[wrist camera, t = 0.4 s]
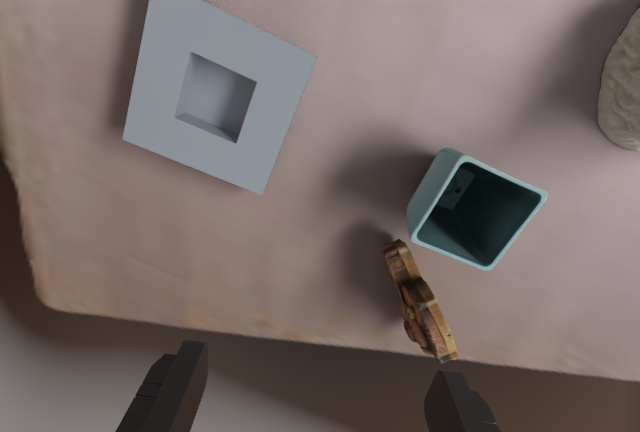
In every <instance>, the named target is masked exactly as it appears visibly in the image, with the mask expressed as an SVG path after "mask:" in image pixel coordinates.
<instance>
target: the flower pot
mask: <svg viewBox="0 0 640 432" xmlns="http://www.w3.org/2000/svg"><path fill="white" fill-rule="evenodd" d="M456 188H460V191H458V192H456ZM547 196H548V193H547V192H546V191H544V190H542V189H539V188H537V187H535V186H532V185H530V184H528V183H525V182H523V181H521V180H519V179H516V178H514V177H512V176H509V175H507V174H505V173H503V172H501V171H499V170H497V169H494V168H492V167H490V166H488V165H486V164H484V163H482V162H480V161H478V160H476V159H474V158H472V157H470V156H467V155H465V154H462V153H460V152H458V151H455V150H453V149H442V150H441V151H439V152H438V154H437V155H436V157H435V158H434V160H433V162H432V164H431V165H430V167H429V169H428V171H427V172H426V174H425V176H424V177H423V179H422V181H421V183H420V184H419V186H418V188H417V189H416V191H415V193H414V194H413V196H412V197H411V199H410V201H409V203H408V206H407V210H406V219H407V225H408V230H409V235H410V240H411V241H412V242H413V243H415V244H417V245H420V246H423V247H426V248H428V249H431V250H433V251H436V252H438V253H441V254H443V255H446V256H448V257H451V258H453V259H456V260H458V261H461V262H463V263H466V264H468V265H471V266H473V267H475V268H478V269H480V270H483V271H490V270H491V269H492V268H493V267H494V266H495V265H496V264H497V262H498V261H499V260H500V258H501V257H502V256H503V254H504V253H505V251H506V250H507V249H508V248H509V246H510V245H511V243H512V242H513V241H514V240H515V238H516V237H517V236H518V234H519V233H520V232H521V230H522V229H523V228H524V227H525V225H526V224H527V223H528V222H529V221H530V220H531V218H532V217H533V216H534V214H535V213H536V212H537V211H538V210H539V208H540V207H541V206H542V204H543V203H544V202H545V200H546V198H547Z"/></svg>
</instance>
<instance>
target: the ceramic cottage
mask: <svg viewBox="0 0 640 432" xmlns="http://www.w3.org/2000/svg"><path fill="white" fill-rule="evenodd" d="M603 71H604V72H603V73H602V77H601V80H602V82H601V89H600V91H599V96H598V107H597V108H598V109H599V110H598V113H599V114H598V115H597V116H598V122H599V126H600V128H601V130H602V131H603V133H604V134H605V135H606V136H607V137H608V139H610V140H611V141H612V142H613V143H614V144H616V145H617V146H619V147H622V148H624V149H627V150H632V151H640V7H639V8H638V9H637V10H636V12H635V13H634V14H633V16H632V17H631V19H630V20H629V22H628V25H627V26H626V27H625V29H624V30H623V31H622V34H621V35H620V36H619V37H618V38H617V42H615V44H614V45H613V47H612V49H611V52H610V53H609V54H608V57H607V58H606V61H605V64H604V69H603Z"/></svg>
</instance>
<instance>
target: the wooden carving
mask: <svg viewBox="0 0 640 432" xmlns="http://www.w3.org/2000/svg"><path fill="white" fill-rule="evenodd" d="M383 249H384V251H383V252H382V254H383V260H384V263H385V265H386V267H387V268H388V271H389V273H390V276H391V278H392V280H393V282H394V284H395V287H396V289H397V291H398V294H399V296H400V298H401V300H402V314H403V318H404V328H405V330H406V332H407V334H408V336H409V338H410V339H411V341H413V342H417V343H418V344H419V345H420V346H421V347H420V348H421V349H422V350H423V352H424V353H426V354H429V355H434V357H435V358H436V359H437V361H438V362H439V363H440V364H443V363H445V362H447V361H449V360H450V359H451V360H455V359H457V358H458V353H457V351H456V346H455V343H454V339H453V336H452V333H451V331H450V329H449V327H448V324H447V322H446V320H445V318H444V316H443V314H442V312H441V310H440V308H439V306H438V304H437V301H436V299H435V297H434V295H433V293H432V291H431V289H430V288H429V286H428V285H427V283H426V282H425V281H424V280H423V279H422V277H421V275H420V272H419V270H418V267H417V265H416V263H415V260H414V258H413V256H412V254H411V252H410V250H409V249H408V247H407V245H406V243H405V242H402V241H401V240H400V239H398V240H396V241H394V242H392V243H391V244H389V245H387V246H385V247H383Z"/></svg>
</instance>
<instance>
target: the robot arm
mask: <svg viewBox="0 0 640 432" xmlns="http://www.w3.org/2000/svg"><path fill="white" fill-rule="evenodd" d="M208 349H209V348H208V341H200V340H192V339H185V340H184V341H183V343H182V345H181V347H180V349H179V351H178V353H177V355H171V354H164V355H163V356H162V357H161V358H160V359H159V360H158V361H157V362H156V363H154V364H153V365H152V366H151V368H150V370H149V372H148V374H147V375H146V377H145V379H144V381H143V384H142V385H141V387H140V388H139V390H138V392H137V394H136V397H135V398H134V399H133V401H132V403H131V404H130V406H129V408H128V410H127V412H126V414H125V416H124V417H123V419H122V421H121V423H120V425H119V426H118V428H117V430H116V432H190V430H191V427H192V424H193V421H194V419H195V416H196V413H197V410H198V407H199V404H200V402H201V399H202V396H203V393H204V390H205V387H206V383H207V377H208ZM424 413H425V418H426V422H427V425H428V429H429V432H501V431H500V429H499V427H498V426H497V425H496V421H495V418H494V416H493V414H492V412H491V410H490V407H489V406H488V404H487V403H486V402H485V401H484V400H483V398H482V397H481V396H480V395H479V394H478V392H477V391H473V390H470V389H469V387H468V385H467V383H466V380H465V378H464V376H463V374H461V373H460V372H453V371H444V370H438V371H437V372H436V374H435V376H434V379H433V381H432V383H431V385H430V388H429V390H428V392H427V394H426V397H425V401H424Z"/></svg>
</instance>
